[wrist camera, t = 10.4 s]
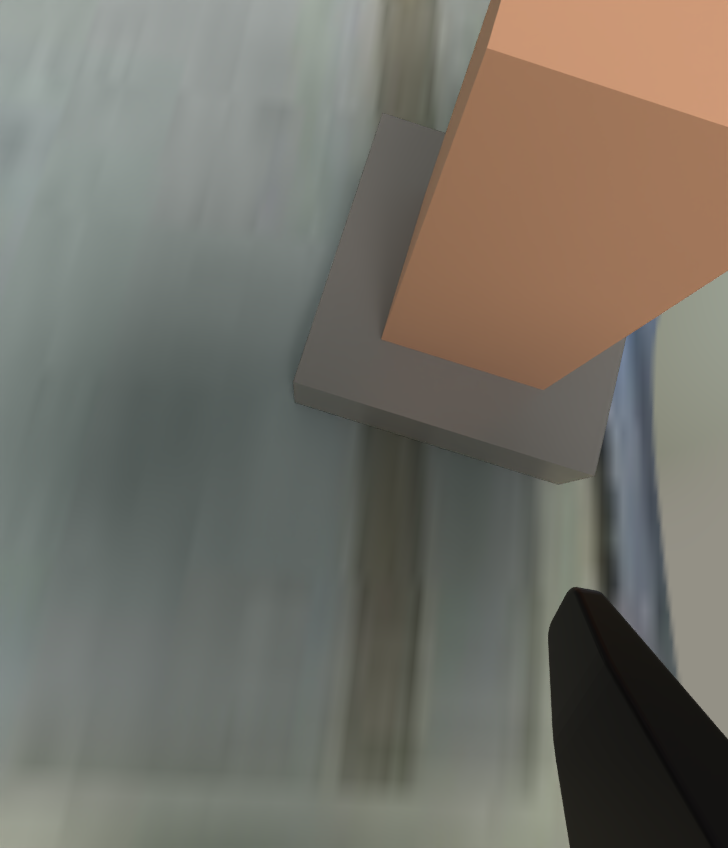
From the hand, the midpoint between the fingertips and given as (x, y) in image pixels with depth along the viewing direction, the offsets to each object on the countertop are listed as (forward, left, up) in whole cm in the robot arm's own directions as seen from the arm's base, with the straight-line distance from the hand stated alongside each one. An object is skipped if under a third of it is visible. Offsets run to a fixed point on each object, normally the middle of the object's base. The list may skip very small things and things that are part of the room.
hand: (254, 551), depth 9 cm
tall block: (+10, -3, -10) cm, 15 cm away
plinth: (+10, -3, -13) cm, 17 cm away
